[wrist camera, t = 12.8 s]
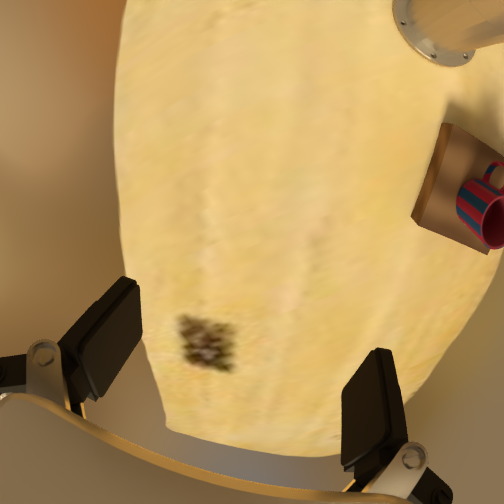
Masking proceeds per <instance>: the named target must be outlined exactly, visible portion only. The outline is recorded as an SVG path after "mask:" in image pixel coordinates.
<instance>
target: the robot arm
mask: <svg viewBox="0 0 504 504" xmlns="http://www.w3.org/2000/svg"><path fill="white" fill-rule="evenodd" d="M393 16H394V20H395V23H396V25H397V27H398V30H399V31H400V33H401V35H402V36H403V38H404V39H405V40H406V42H407V43H408V44H409V45H410V46H411V47H412V48H413V49H414V50H415V51H416V52H417V53H418V54H420V55H421V56H422V57H424V58H425V59H427V60H429V61H430V62H432V63H435V64H437V65H440V66H444V67H458V66H462V65H464V64H466V63H468V62H469V61H470V60H471V59H472V57H473V56H474V53H475V51H476V49H479V48H482V47H486V46H490V45H494V44H499V43H503V42H504V0H394V4H393ZM401 23H402V24H403V25H402V24H401ZM431 55H432V57H433V58H432V57H431ZM142 333H143V330H142V317H141V302H140V287H139V285H137V282H136V280H133V279H131V278H128V277H125V276H122V277H120V278H119V279H118V280H117V281H116V282H115V283H114V284H113V285H112V286H111V287H110V289H108V290H107V292H106V293H105V294H104V295H103V296H102V297H101V298H100V299H99V300H98V301H95V302H94V303H93V304H92V305H91V306H90V307H89V308H88V310H87V311H86V312H85V313H84V314H83V315H82V316H81V317H80V318H79V319H78V321H76V323H75V324H74V325H73V326H72V327H71V328H70V329H69V330H68V332H67V333H66V334H65V335H64V336H63V337H62V338H61V340H60V341H59V342H58V343H55V342H54V341H52V340H49V339H42V340H38V341H36V342H34V343H33V344H32V345H31V346H30V347H29V349H28V351H27V354H22V355H15V356H9V357H1V358H0V504H452V500H453V493H452V490H451V488H450V487H449V486H448V485H447V484H446V483H445V482H444V481H443V480H441V479H440V478H439V477H438V476H437V475H436V474H435V473H434V472H433V471H431V470H430V469H429V468H428V467H427V465H428V460H429V457H428V453H427V451H426V449H425V448H424V446H422V445H421V444H420V443H418V442H408V434H407V427H406V420H405V413H404V407H403V401H402V396H401V390H400V386H399V384H398V379H397V374H396V369H395V364H394V360H393V355H392V352H391V350H389V349H384V348H378V347H377V348H376V349H375V350H372V351H370V353H369V354H368V356H367V357H366V358H365V360H364V361H363V363H362V364H361V365H360V367H359V368H358V370H357V371H356V372H355V374H354V375H353V376H352V378H351V379H350V380H349V382H348V383H347V384H346V385H345V387H344V388H343V390H342V395H341V402H342V436H341V464H342V466H344V472H354V479H353V480H352V481H351V483H350V484H349V485H348V486H347V487H346V488H345V489H344V490H343V491H342V492H334V491H333V492H332V491H319V490H306V489H297V488H288V487H280V486H274V485H267V484H262V483H257V482H251V481H247V480H242V479H238V478H233V477H229V476H225V475H221V474H217V473H214V472H210V471H207V470H203V469H200V468H197V467H193V466H190V465H187V464H184V463H181V462H179V461H176V460H173V459H170V458H167V457H165V456H162V455H160V454H157V453H155V452H152V451H150V450H147V449H145V448H142V447H140V446H138V445H136V444H133V443H131V442H129V441H127V440H125V439H123V438H121V437H119V436H116V435H115V434H113V433H111V432H109V431H107V430H105V429H103V428H100V427H99V426H97V425H95V424H93V423H91V422H89V421H88V420H86V415H85V411H84V405H83V402H84V401H85V399H86V398H87V397H88V398H90V399H92V400H94V401H95V402H96V401H97V399H98V398H99V397H103V396H104V395H105V393H106V391H107V390H108V388H109V386H110V385H111V383H112V382H113V380H114V379H115V377H116V376H117V374H118V373H119V371H120V370H121V368H122V366H123V365H124V363H125V362H126V360H127V359H128V357H129V356H130V354H131V353H132V351H133V350H134V348H135V347H136V345H137V344H138V342H139V341H140V339H141V337H142Z"/></svg>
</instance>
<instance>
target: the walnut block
mask: <svg viewBox="0 0 504 504" xmlns="http://www.w3.org/2000/svg"><path fill="white" fill-rule="evenodd" d="M493 161H502V162H504V157H503V156H502V155H500V154H499V153H498V152H496V151H495V150H493V149H492V148H490V147H489V146H488V145H486V144H485V143H483V142H482V141H480V140H478V139H477V138H475V137H474V136H472V135H470V134H469V133H467V132H466V131H464V130H462V129H461V128H459V127H457V126H455V125H454V124H448V123H442V124H441V128H440V132H439V136H438V139H437V142H436V146H435V149H434V152H433V156H432V159H431V162H430V165H429V168H428V171H427V174H426V177H425V180H424V183H423V185H422V188H421V191H420V194H419V196H418V199H417V201H416V204H415V207H414V209H413V212H412V214H411V218H412V219H413V220H414V221H415V222H416V224H417V225H418V226H420V227H423V228H426V229H428V230H431V231H433V232H435V233H438V234H440V235H443V236H445V237H447V238H450V239H452V240H455V241H457V242H459V243H461V244H464V245H466V246H468V247H470V248H473V249H475V250H477V251H479V252H481V253H484V254H486V255H488V253H489V251H490V248H488V247H486V246H485V245H484V244H483V243H482V242H481V241H480V240H479V239H478V238H477V236H476V235H475V234H474V233H473V232H472V231H471V230H470V229H469V228H468V227H467V226H465V225H464V224H463V223H462V222H461V220H460V219H459V217H458V215H457V211H456V200H457V196H458V193H459V191H460V189H461V188H462V186H463V185H464V184H465V183H466V182H467V181H469V180H471V179H475V178H478V179H483V176H484V174H485V172H486V170H487V168H488V166H489V165H490V164H491V163H492V162H493ZM489 183H490V184H491V185H493V186H495V187H496V188H498V189H501V188H502V187H503V185H504V167H503V166H501V165H500V166H497V167H496V168H495V169H494V171H493V172H492V174H491V177H490V180H489Z"/></svg>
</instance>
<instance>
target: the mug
mask: <svg viewBox="0 0 504 504" xmlns="http://www.w3.org/2000/svg"><path fill="white" fill-rule="evenodd" d="M500 165H501V166H503V167H504V162H502V161H493V162H492V163H491V164H490V165H489V166H488V168H487V170H486V172H485V174H484V176H483V179H478V178H475V179H471V180H469V181H467V182H466V183H465V184H464V185H463V186H462V188H461V189H460V191H459V193H458V196H457V200H456V211H457V215H458V217H459V219H460V220H461V222H462V223H463V224H464V225H465V226H467V227H468V228H469V229H470V230H471V231H472V232H473V233H474V234H475V235H476V236H477V238H478V239H479V240H480V241H481V242H482V243H483V244H484V245H485V246H486V247H488V248H490V249H499V248H502V247H504V185H503V187H502V188H501V189H498V188H496V187H495V186H493V185H491V184H490V183H489V180H490V177H491V174H492V172H493V171H494V169H495V168H496V167H497V166H500Z"/></svg>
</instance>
